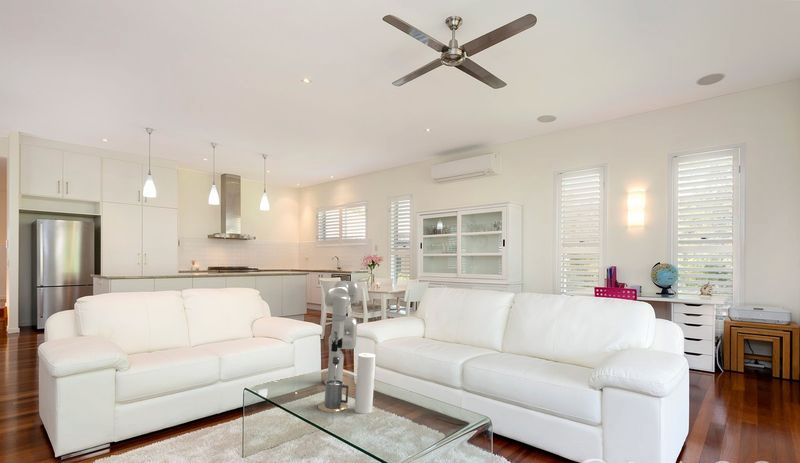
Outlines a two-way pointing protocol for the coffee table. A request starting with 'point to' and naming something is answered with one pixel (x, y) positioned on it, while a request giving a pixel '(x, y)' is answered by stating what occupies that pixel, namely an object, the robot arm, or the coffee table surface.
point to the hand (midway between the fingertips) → (336, 349)
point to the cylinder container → (365, 383)
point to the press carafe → (334, 398)
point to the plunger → (335, 361)
